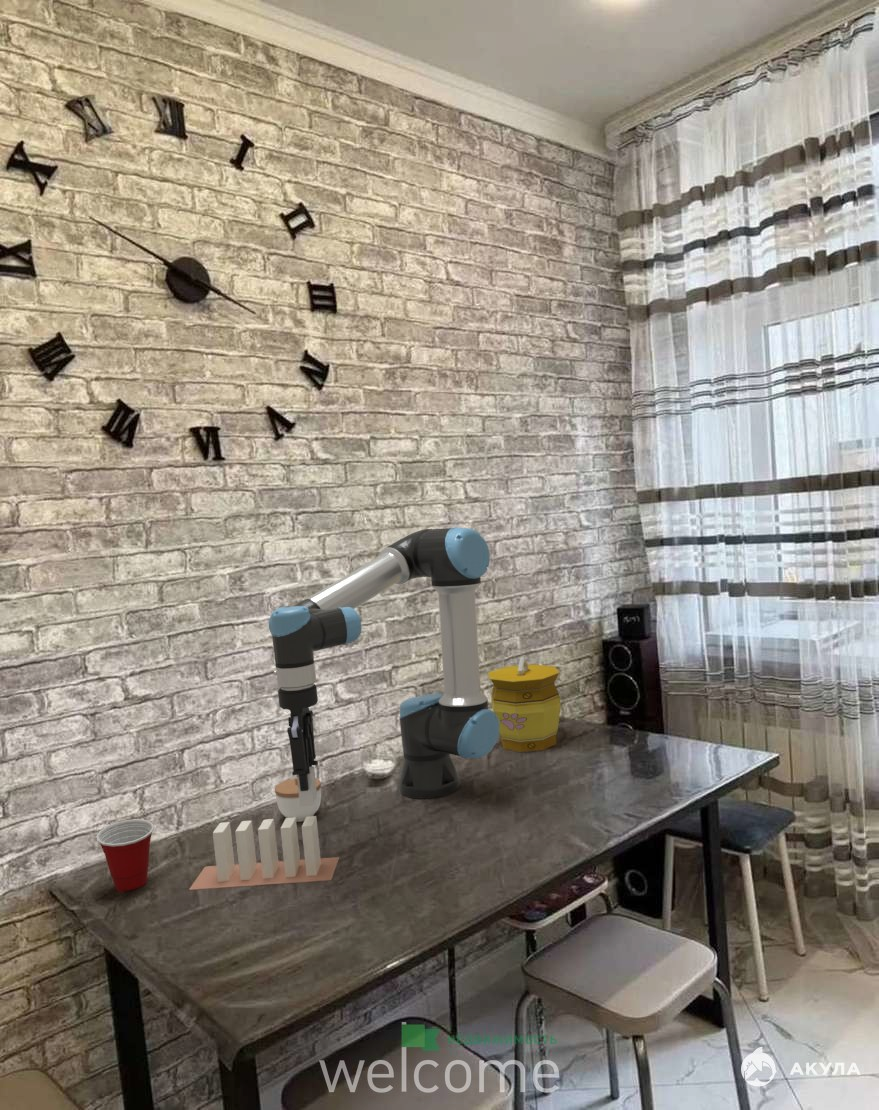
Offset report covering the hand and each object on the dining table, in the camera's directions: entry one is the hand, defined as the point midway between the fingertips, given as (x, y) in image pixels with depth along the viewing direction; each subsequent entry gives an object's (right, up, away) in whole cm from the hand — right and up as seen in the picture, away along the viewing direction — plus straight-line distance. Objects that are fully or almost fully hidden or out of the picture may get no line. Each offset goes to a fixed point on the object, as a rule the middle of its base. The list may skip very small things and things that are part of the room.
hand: (308, 801), depth 165 cm
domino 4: (-3, -14, +1) cm, 15 cm away
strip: (-9, -15, +1) cm, 18 cm away
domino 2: (-12, -15, +2) cm, 19 cm away
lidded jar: (-7, -13, +31) cm, 35 cm away
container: (+51, -5, +72) cm, 89 cm away
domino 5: (+1, -14, +1) cm, 14 cm away
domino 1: (-17, -15, +2) cm, 23 cm away
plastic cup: (-36, -18, +2) cm, 40 cm away
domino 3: (-8, -15, +1) cm, 17 cm away
